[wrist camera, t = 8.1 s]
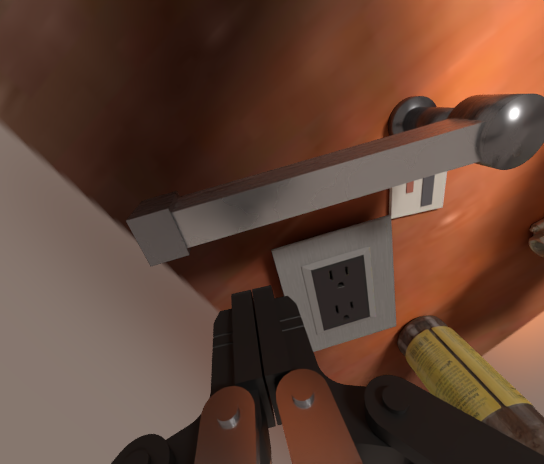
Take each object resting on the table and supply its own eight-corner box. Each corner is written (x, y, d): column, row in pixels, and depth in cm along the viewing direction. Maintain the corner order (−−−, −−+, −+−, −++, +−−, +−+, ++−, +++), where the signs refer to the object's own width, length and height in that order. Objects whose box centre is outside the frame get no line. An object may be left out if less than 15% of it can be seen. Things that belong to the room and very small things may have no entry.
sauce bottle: (396, 358, 34) (582, 635, 16) (392, 322, 31) (612, 610, 14) (444, 341, 34) (681, 599, 17) (445, 305, 32) (731, 567, 14)
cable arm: (502, 87, 16) (559, 84, 13) (494, 150, 17) (543, 159, 15) (138, 192, 15) (119, 211, 12) (165, 247, 17) (154, 275, 14)
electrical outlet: (385, 312, 31) (397, 328, 29) (296, 340, 31) (302, 358, 29) (378, 207, 25) (392, 217, 23) (268, 240, 25) (272, 253, 23)
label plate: (390, 151, 23) (394, 152, 22) (447, 139, 23) (451, 140, 23) (388, 217, 25) (391, 219, 25) (439, 205, 26) (443, 207, 25)
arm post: (388, 101, 21) (441, 101, 16) (432, 92, 21) (499, 89, 16) (387, 149, 23) (435, 163, 17) (428, 140, 23) (487, 152, 18)
